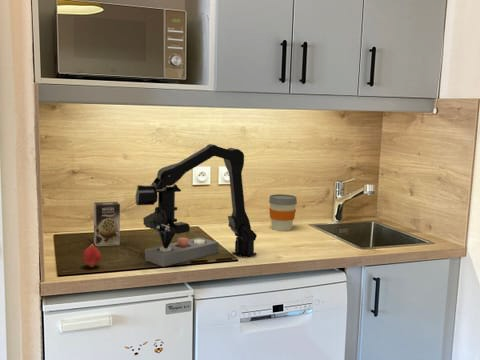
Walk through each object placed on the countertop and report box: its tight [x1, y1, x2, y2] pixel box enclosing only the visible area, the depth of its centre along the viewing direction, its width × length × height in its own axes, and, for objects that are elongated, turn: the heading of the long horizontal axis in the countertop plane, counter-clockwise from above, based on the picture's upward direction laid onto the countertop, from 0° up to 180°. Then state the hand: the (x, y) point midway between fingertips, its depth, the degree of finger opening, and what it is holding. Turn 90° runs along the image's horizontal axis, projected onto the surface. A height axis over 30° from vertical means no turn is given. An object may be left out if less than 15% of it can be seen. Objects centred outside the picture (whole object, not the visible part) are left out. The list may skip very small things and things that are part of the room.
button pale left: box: [160, 247, 171, 252], centre depth 181 cm, size 4×4×3 cm
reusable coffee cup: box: [268, 193, 298, 232], centre depth 235 cm, size 13×13×15 cm
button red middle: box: [176, 237, 190, 248], centre depth 187 cm, size 4×4×3 cm
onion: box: [82, 243, 102, 268], centre depth 171 cm, size 6×6×8 cm
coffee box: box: [93, 201, 121, 247], centre depth 199 cm, size 9×6×16 cm
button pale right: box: [194, 239, 205, 244], centre depth 193 cm, size 4×4×3 cm
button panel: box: [144, 237, 219, 268], centre depth 187 cm, size 10×26×4 cm, turn 137°
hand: (165, 248), depth 181 cm, fingers closed, pressing on button pale left
